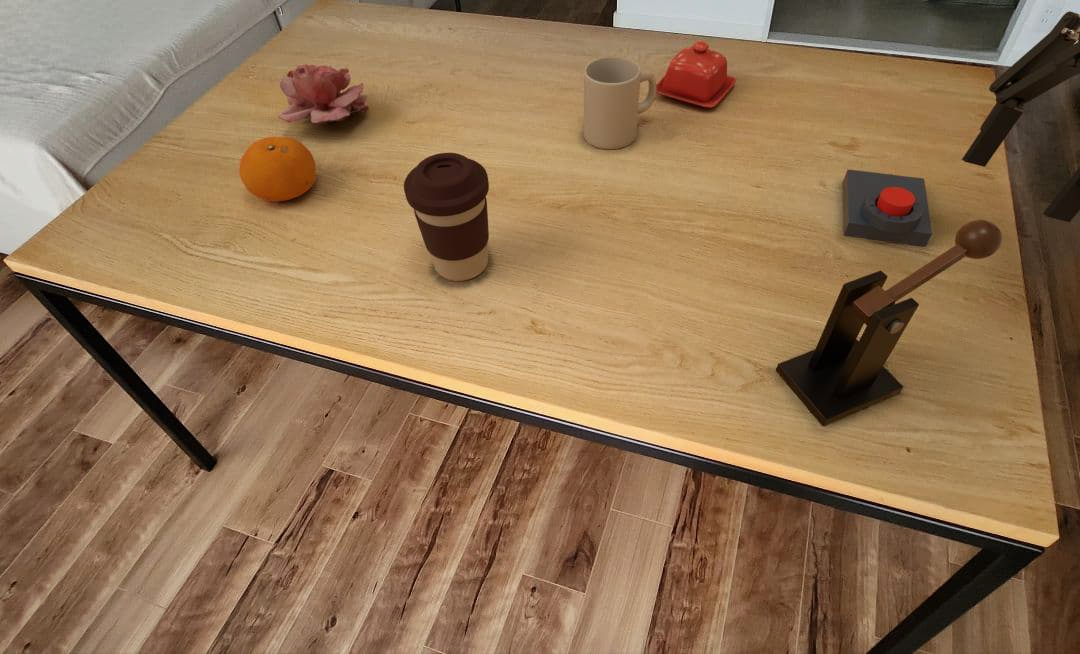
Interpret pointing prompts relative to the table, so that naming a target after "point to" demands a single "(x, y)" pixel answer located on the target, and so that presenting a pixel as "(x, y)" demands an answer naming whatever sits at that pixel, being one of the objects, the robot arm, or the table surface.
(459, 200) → the coffee cup
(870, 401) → the bracket
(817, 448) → the table surface
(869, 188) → the button block
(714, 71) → the butter dish
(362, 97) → the flower
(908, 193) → the button
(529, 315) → the table surface
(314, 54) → the table surface
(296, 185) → the fruit
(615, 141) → the mug
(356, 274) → the table surface
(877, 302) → the lever
